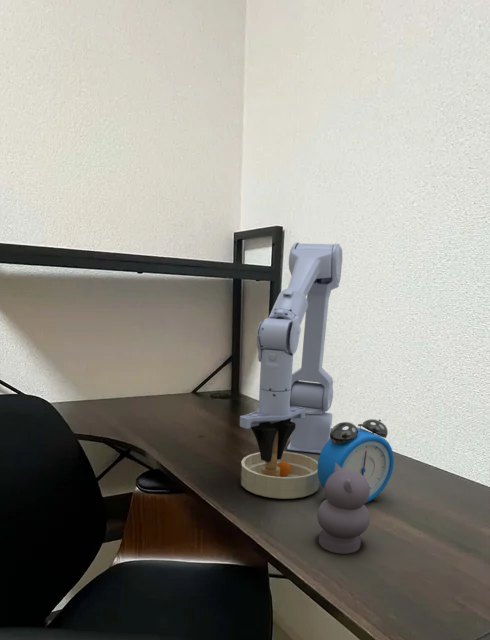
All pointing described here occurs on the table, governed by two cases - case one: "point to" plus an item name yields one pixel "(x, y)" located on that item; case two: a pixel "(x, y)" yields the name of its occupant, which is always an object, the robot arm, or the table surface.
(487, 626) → the table surface
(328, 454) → the alarm clock
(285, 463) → the ball
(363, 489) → the cat figurine
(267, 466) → the muddler
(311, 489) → the bowl
